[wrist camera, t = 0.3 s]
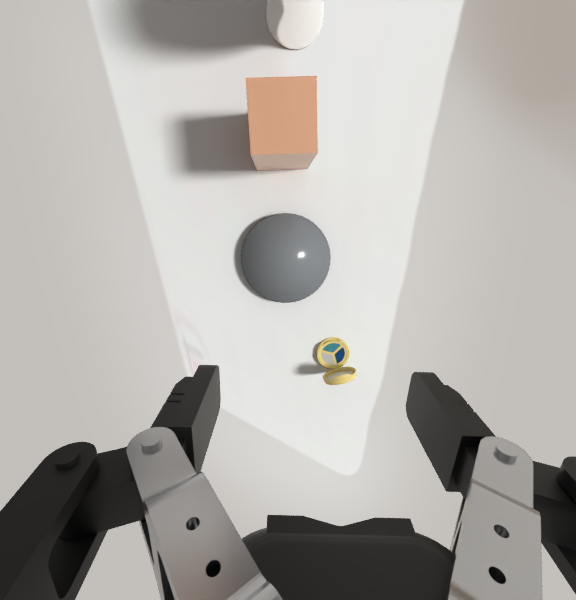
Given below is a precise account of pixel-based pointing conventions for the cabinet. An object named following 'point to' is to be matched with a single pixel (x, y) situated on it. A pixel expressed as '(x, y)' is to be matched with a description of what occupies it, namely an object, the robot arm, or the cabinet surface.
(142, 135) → the cabinet surface
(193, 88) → the cabinet surface
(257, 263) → the grey round puck
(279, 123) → the peach pillar
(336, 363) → the eyeshadow
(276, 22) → the beer glass
